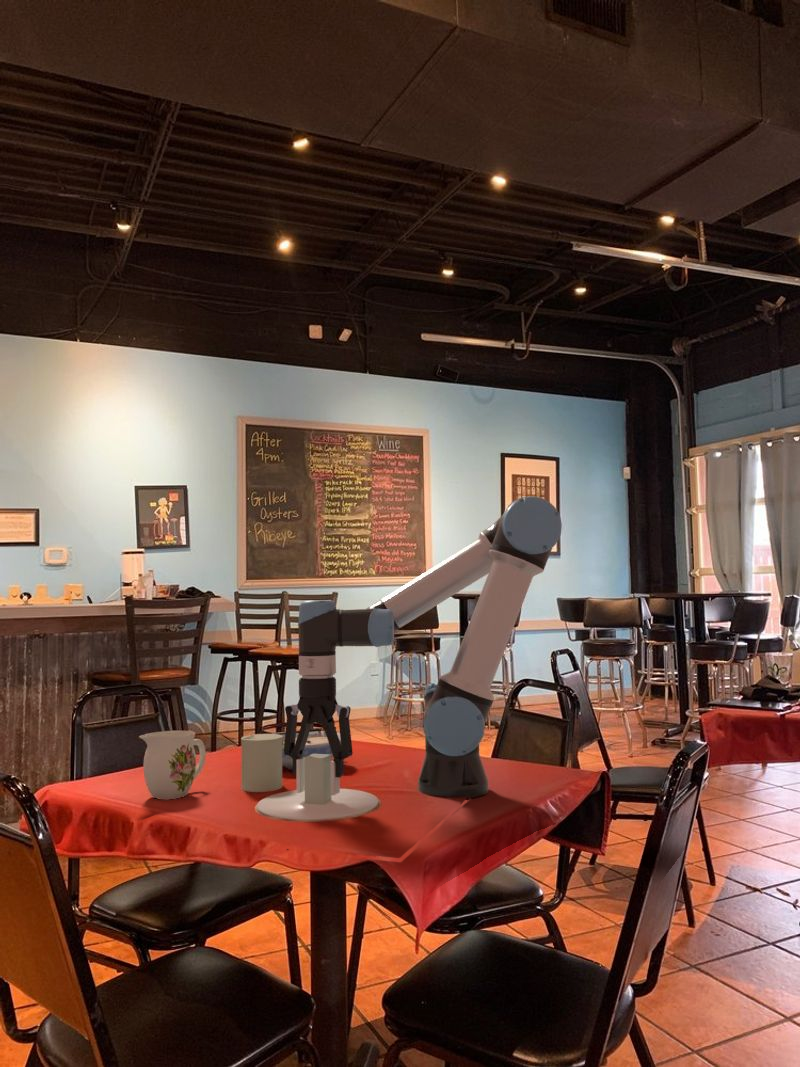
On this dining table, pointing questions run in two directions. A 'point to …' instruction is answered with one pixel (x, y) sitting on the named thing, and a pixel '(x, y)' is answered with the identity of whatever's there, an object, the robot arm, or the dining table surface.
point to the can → (261, 762)
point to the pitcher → (171, 763)
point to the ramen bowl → (309, 745)
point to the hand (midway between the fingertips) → (318, 792)
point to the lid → (317, 797)
